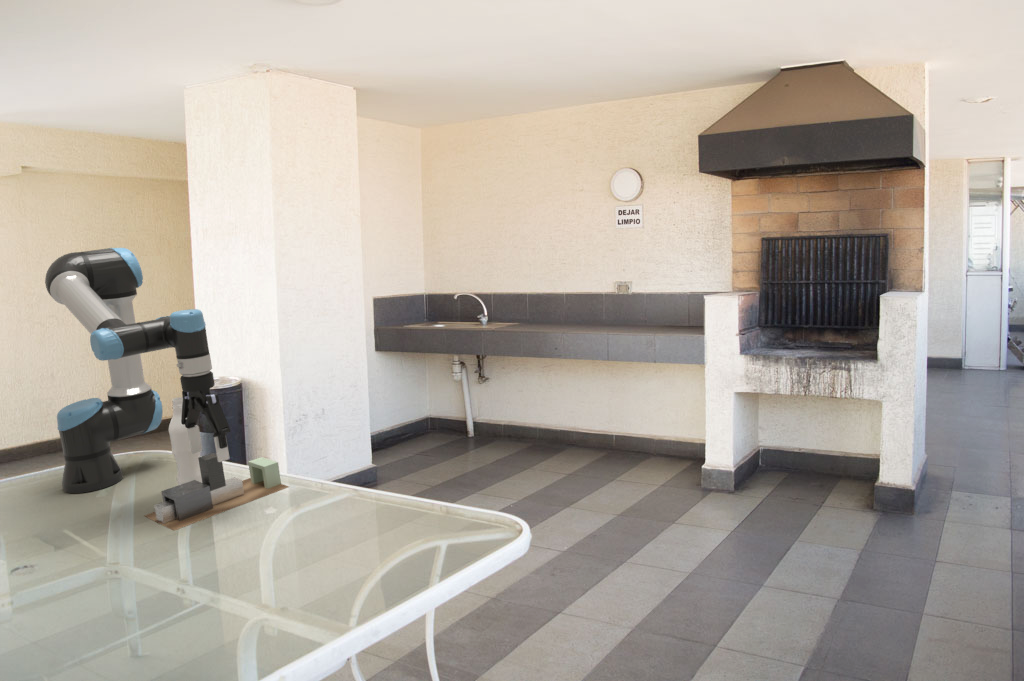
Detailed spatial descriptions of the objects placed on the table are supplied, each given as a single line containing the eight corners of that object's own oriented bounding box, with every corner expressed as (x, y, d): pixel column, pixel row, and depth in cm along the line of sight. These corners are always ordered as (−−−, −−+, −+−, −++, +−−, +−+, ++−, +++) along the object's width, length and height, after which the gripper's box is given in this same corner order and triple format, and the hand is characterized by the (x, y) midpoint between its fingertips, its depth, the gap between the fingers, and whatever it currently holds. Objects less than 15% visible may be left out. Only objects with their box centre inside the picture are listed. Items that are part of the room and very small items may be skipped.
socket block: (251, 483, 214) (248, 461, 212) (264, 478, 216) (261, 457, 215) (267, 488, 208) (264, 466, 207) (281, 483, 211) (278, 462, 210)
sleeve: (165, 514, 197) (161, 491, 195) (198, 502, 203) (194, 479, 202) (179, 521, 191) (175, 497, 190) (213, 508, 198) (209, 485, 196)
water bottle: (198, 481, 221) (183, 393, 216) (212, 486, 217) (197, 396, 212) (173, 490, 216) (158, 400, 211) (187, 495, 211) (172, 403, 207)
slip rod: (156, 519, 193) (148, 473, 191) (236, 490, 208) (229, 447, 206) (164, 523, 190) (155, 476, 188) (244, 494, 206) (237, 450, 203)
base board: (144, 519, 197) (143, 515, 197) (257, 478, 219) (256, 475, 219) (174, 534, 186) (173, 530, 186) (290, 490, 209) (289, 486, 208)
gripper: (158, 372, 202) (172, 453, 205) (206, 381, 185) (221, 468, 189) (186, 365, 207) (200, 444, 211) (236, 373, 190) (249, 459, 194)
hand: (210, 456), depth 200 cm, fingers open, 13 cm apart
